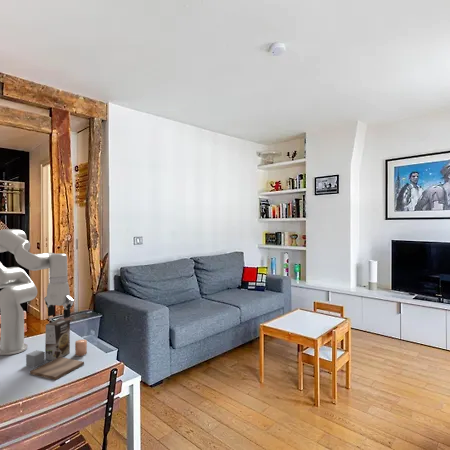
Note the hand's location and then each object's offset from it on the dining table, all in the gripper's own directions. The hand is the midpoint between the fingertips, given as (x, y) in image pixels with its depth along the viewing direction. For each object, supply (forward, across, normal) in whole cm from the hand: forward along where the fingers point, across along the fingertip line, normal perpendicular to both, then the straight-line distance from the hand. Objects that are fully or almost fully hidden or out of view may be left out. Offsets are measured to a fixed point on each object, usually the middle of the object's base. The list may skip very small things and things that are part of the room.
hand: (59, 316), depth 150 cm
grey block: (+19, -3, -10) cm, 21 cm away
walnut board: (+19, +10, -10) cm, 24 cm away
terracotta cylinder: (+19, +7, +6) cm, 21 cm away
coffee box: (+19, -1, 0) cm, 19 cm away
